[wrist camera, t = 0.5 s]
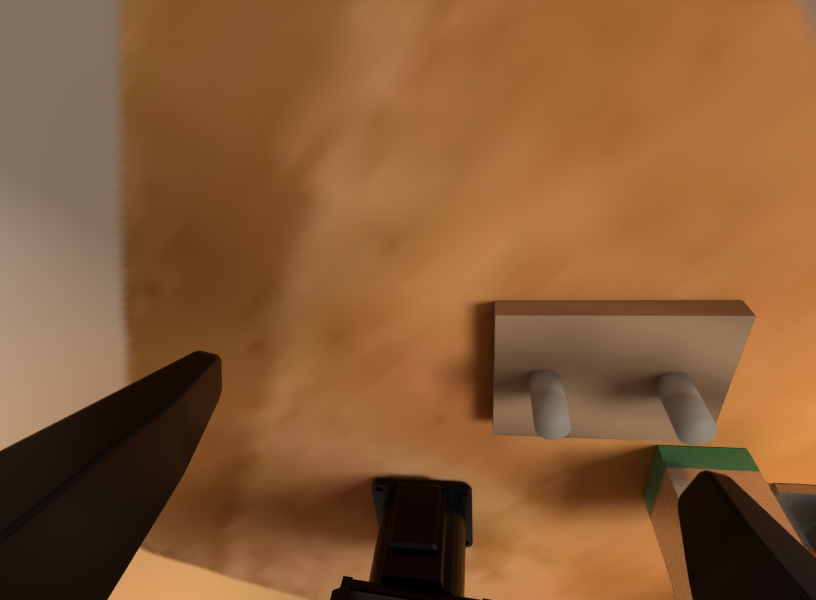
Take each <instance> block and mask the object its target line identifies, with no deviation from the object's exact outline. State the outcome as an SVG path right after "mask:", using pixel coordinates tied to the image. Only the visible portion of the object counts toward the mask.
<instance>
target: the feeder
mask: <svg viewBox="0 0 816 600" xmlns="http://www.w3.org/2000/svg"><path fill="white" fill-rule="evenodd" d="M771 491H772V493H773V494H774V496H775V498H776V500H777V501H778V503H779V505H780V506H781V508H782V510H783V512H784V513H785V515H786V517H787V518H788V520H789V522H790V524H791V525H792V527H793V529H794V530H795V532H796V534H797V536H798V537H799V539H800V541H801V542H802V544H803V546H805V547H807V548H808V550H809V551H810V553H811V554H812V555H813V556H815V557H816V485H796V484H775V483H774V485H773V487H772V489H771Z"/></svg>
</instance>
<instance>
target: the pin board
mask: <svg viewBox="0 0 816 600" xmlns="http://www.w3.org/2000/svg"><path fill="white" fill-rule="evenodd" d="M754 319H755V315H754V313H753V312H752V311H751V310H750V309H749V307H748V306H747V305H746V304H745V303H744V302H743V301H495V310H494V366H493V435H512V436H539V437H543V438H546V439H559V438H562V437H565V438H591V439H618V440H644V441H670V442H683V443H685V444H689V445H699V444H703V443H709V441H710V440H712V439H713V438H714V437H715V436H716V434H717V432H718V428H717V425H716V421H717V419H718V416H719V413H720V411H721V408H722V405H723V403H724V400H725V397H726V394H727V392H728V389H729V386H730V384H731V381H732V378H733V376H734V373H735V370H736V368H737V365H738V362H739V360H740V357H741V354H742V351H743V349H744V346H745V343H746V341H747V338H748V335H749V333H750V330H751V327H752V325H753V322H754Z"/></svg>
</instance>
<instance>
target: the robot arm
mask: <svg viewBox="0 0 816 600" xmlns="http://www.w3.org/2000/svg"><path fill="white" fill-rule="evenodd" d="M221 391H222V364H221V358H220V356H218V355H217V354H213V353H208V352H204V351H195V352H193V353H191V354H189V355H187V356H185V357H183V358H181V359H179V360H177V361H175V362H173V363H171V364H169V365H167V366H165V367H163V368H161V369H159V370H158V371H156V372H154V373H152V374H150V375H148V376H146V377H144V378H142V379H140V380H138V381H136V382H134V383H132V384H130V385H128V386H126V387H124V388H122V389H120V390H118V391H116V392H115V393H113V394H111V395H109V396H107V397H105V398H103V399H101V400H99V401H97V402H95V403H93V404H91V405H89V406H87V407H85V408H83V409H81V410H79V411H77V412H75V413H74V414H72V415H69V416H68V417H66V418H64V419H62V420H60V421H58V422H56V423H54V424H52V425H50V426H48V427H46V428H44V429H42V430H40V431H38V432H36V433H34V434H33V435H30V436H29V437H26V438H24V439H23V440H21V441H19V442H17V443H15V444H13V445H11V446H9V447H7V448H5V449H3V450H1V451H0V600H107V599H108V598H109V596H110V595H111V593H112V591H113V590H114V588H115V586H116V585H117V583H118V581H119V580H120V578H121V577H122V575H123V573H124V572H125V570H126V568H127V567H128V565H129V563H130V562H131V560H132V559H133V557H134V555H135V554H136V552H137V550H138V549H139V547H140V546H141V544H142V542H143V541H144V539H145V537H146V536H147V534H148V532H149V531H150V529H151V528H152V526H153V524H154V523H155V521H156V519H157V518H158V516H159V515H160V513H161V511H162V510H163V508H164V506H165V505H166V503H167V501H168V500H169V498H170V497H171V495H172V493H173V492H174V490H175V488H176V487H177V485H178V483H179V482H180V480H181V478H182V476H183V475H184V473H185V471H186V469H187V467H188V465H189V463H190V461H191V458H192V456H193V454H194V452H195V450H196V448H197V446H198V443H199V441H200V439H201V437H202V435H203V433H204V431H205V429H206V426H207V424H208V422H209V420H210V418H211V416H212V414H213V411H214V409H215V407H216V405H217V403H218V401H219V398H220V395H221ZM372 493H373V498H374V503H375V508H376V514H377V519H378V524H379V530H378V535H377V541H376V546H375V552H374V557H373V562H372V568H371V573H370V579H369V582H367V581H361V580H355V579H353V577H347V576H343V580H342V583H341V587H340V588H338V589H335V590H333V591H332V595H331V599H330V600H479V599H473V598H466V597H464V586H465V547H470V546H472V542H473V536H472V488H471V487H470V486H469V485H467V484H460V483H441V482H422V481H403V480H385V479H376V480H374V481H373V484H372ZM677 508H678V516H679V522H680V528H681V535H682V541H683V548H684V554H685V560H686V567H687V573H688V579H689V585H690V590H691V595H692V599H693V600H816V557H815V556H813V555H812V554H811V553H810V552H809V551H808V550H807V549H806V548H805V547H804V546H803V545H802V544H801V543H800V542H799V541H798V540H796V539H795V538H794V537H793V536H792V535H791V534H790V533H789V532H788V531H787V530H786V529H785V528H784V527H783V526H782V525H781V524H779V523H778V522H777V521H776V520H775V519H774V518H773V517H772V516H771V515H770V514H769V513H768V512H767V511H766V510H765V509H764V508H762V507H761V506H760V505H759V504H758V503H757V502H756V501H755V500H754V499H753V498H752V497H751V496H750V495H749V494H748V493H747V492H745V491H744V490H743V489H742V488H741V487H740V486H739V485H738V484H737V483H736V482H735V481H734V480H733V479H732V478H730V477H729V476H727V475H725V474H721V473H717V472H713V471H709V470H703V471H701V472H699V473H698V474H697V475H696V477H695V478H694V479H693V480H692V481H691V483H690V484H689V485H688V486H687V487H686V489H685V490H684V491H683V492H682V493H681V495H680V497H679V499H678V506H677ZM482 600H490V599H484V598H483V599H482Z"/></svg>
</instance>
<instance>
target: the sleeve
mask: <svg viewBox="0 0 816 600" xmlns="http://www.w3.org/2000/svg"><path fill="white" fill-rule="evenodd" d="M703 470H709V471H713V472H717V473H721V474H725V475H727V476H729V477H730V478H732V479H733V480H734V481H735V482H736V483H737V484H738V485H739V486H740V487H741V488H742V489H743V490H744V491H745V492H747V493H748V494H749V495H750V496H751V497H752V498H753V499H754V500H755V501H756V502H757V503H758V504H759V505H760V506H761V507H762V508H764V509H765V510H766V511H767V512H768V513H769V514H770V515H771V516H772V517H773V518H774V519H775V520H776V521H777V522H778V523H779V524H781V525H782V526H783V527H784V528H785V529H786V530H787V531H788V532H789V533H790V534H791V535H792V536H793V537H794V538H795V539H796V540H798V541H799V542H800V543H801V544H802V542H801V541H800V539H799V537H798V536H797V534H796V532H795V530H794V529H793V527H792V525H791V524H790V522H789V520H788V518H787V517H786V515H785V513H784V512H783V510H782V508H781V506H780V505H779V503H778V501H777V500H776V498H775V496H774V494H773V493H772V491H771V489H770V488H769V486H768V484H767V482H766V481H765V479H764V477H763V476H762V474H761V472H760V470H759V469H758V467H757V465H756V463H755V462H754V460H753V458H752V457H751V455H750V453H749V451H748V450H747V449H739V448H713V447H688V446H663V445H658V446H657V450H656V453H655V457H654V460H653V464H652V467H651V470H650V474H649V477H648V481H647V484H646V488H645V491H644V495H643V497H644V500H645V504H646V507H647V510H648V513H649V516H650V519H651V522H652V525H653V528H654V531H655V534H656V537H657V541H658V544H659V547H660V550H661V553H662V556H663V559H664V562H665V565H666V568H667V571H668V575H669V578H670V581H671V584H672V587H673V590H674V593H675V596H676V599H677V600H693V599H692V595H691V590H690V585H689V579H688V573H687V567H686V560H685V554H684V548H683V541H682V535H681V528H680V522H679V516H678V508H677V506H678V499H679V497H680V495H681V493H682V492H683V491H684V490H685V489H686V487H687V486H688V485H689V484H690V483H691V481H692V480H693V479H694V478H695V477H696V475H697V474H698V473H699V472H701V471H703ZM802 545H803V544H802Z"/></svg>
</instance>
